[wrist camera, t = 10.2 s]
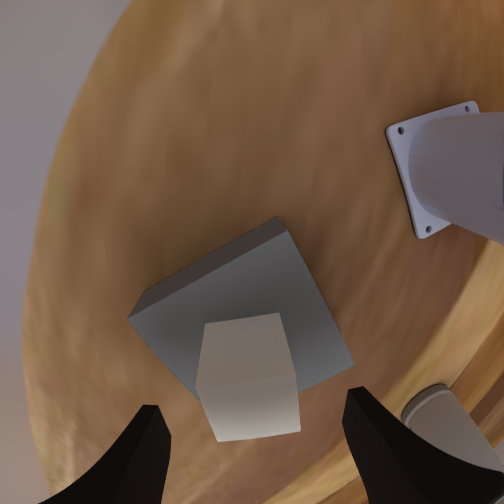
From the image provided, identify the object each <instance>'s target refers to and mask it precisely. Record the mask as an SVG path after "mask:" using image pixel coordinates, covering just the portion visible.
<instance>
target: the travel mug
mask: <svg viewBox="0 0 504 504" xmlns="http://www.w3.org/2000/svg"><path fill="white" fill-rule="evenodd" d="M401 420H402V422H403V424H404V425H405V426H407V427H408V428H409V429H410V430H412V431H413V432H414V433H416V434H417V435H418V436H420V437H421V438H423V439H424V440H426V441H427V442H429V443H430V444H432V445H433V446H435V447H437V448H438V449H440V450H442V451H444V452H446V453H448V454H450V455H452V456H454V457H457V458H459V459H461V460H463V461H466V462H468V463H471V464H474V465H477V466H480V467H484V468H488V469H492V470H497V471H501V472H503V473H504V465H503V463H502V461H501V460H500V458H499V457H498V455H497V454H496V453H495V451H494V450H493V448H492V447H491V445H490V444H489V442H488V441H487V439H486V438H485V437H484V435H483V434H482V432H481V431H480V429H479V428H478V427H477V425H476V424H475V423H474V421H473V420H472V418H471V417H470V416H469V414H468V413H467V412H466V410H465V409H464V408H463V406H462V405H461V404H460V402H459V401H458V400H457V398H456V397H455V396H454V395H453V393H452V392H451V391H450V389H449V388H448V387H447V386H446V385H442V384H440V385H435V386H432V387H430V388H428V389H426V390H424V391H422V392H421V393H420V394H418V395H417V396H416V397H415V398H414V399H413V400H412V401H411V402H410V403H409V404H408V405H407V407H406V408H405V410H404V411H403V414H402V419H401ZM495 504H504V496H503V497H502V498H501V499H500V500H498V501H497V502H496V503H495Z"/></svg>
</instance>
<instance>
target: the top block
mask: <svg viewBox="0 0 504 504" xmlns="http://www.w3.org/2000/svg"><path fill="white" fill-rule="evenodd" d="M195 388H196V391H197V393H198V396H199V398H200V401H201V403H202V406H203V408H204V411H205V413H206V416H207V418H208V420H209V423H210V425H211V427H212V430H213V432H214V434H215V437H216V439H217V441H218V442H221V441H233V440H244V439H252V438H260V437H268V436H275V435H281V434H287V433H293V432H298V431H301V429H300V416H299V404H298V392H297V381H296V373H295V369H294V365H293V361H292V358H291V354H290V350H289V346H288V343H287V339H286V335H285V332H284V328H283V324H282V321H281V317H280V313H279V312H278V313H272V314H266V315H260V316H254V317H247V318H241V319H234V320H227V321H220V322H213V323H205V328H204V334H203V340H202V346H201V353H200V359H199V365H198V372H197V379H196V386H195Z"/></svg>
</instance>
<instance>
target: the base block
mask: <svg viewBox="0 0 504 504" xmlns="http://www.w3.org/2000/svg"><path fill="white" fill-rule="evenodd" d="M278 312H279V313H280V317H281V321H282V324H283V328H284V332H285V335H286V339H287V343H288V346H289V350H290V354H291V358H292V361H293V365H294V369H295V373H296V381H297V392H298V393H299V392H301V391H303V390H305V389H308V388H310V387H312V386H314V385H316V384H318V383H320V382H322V381H324V380H326V379H328V378H330V377H332V376H334V375H336V374H338V373H340V372H342V371H344V370H346V369H348V368H350V367H352V366H353V365H355V363H354V360H353V358H352V356H351V354H350V352H349V350H348V348H347V346H346V344H345V342H344V339H343V337H342V335H341V333H340V331H339V329H338V327H337V325H336V323H335V321H334V319H333V317H332V315H331V313H330V311H329V309H328V307H327V305H326V303H325V301H324V299H323V297H322V295H321V293H320V291H319V289H318V287H317V285H316V283H315V281H314V279H313V277H312V275H311V273H310V271H309V270H308V268H307V266H306V264H305V262H304V260H303V258H302V256H301V254H300V252H299V250H298V249H297V247H296V245H295V243H294V241H293V239H292V237H291V235H290V234H289V232H288V230H287V228H286V227H285V226H284V224H283V223H282V221H281V220H280V219H279V217H278V216H276V217H274V218H272V219H271V220H269V221H267V222H265V223H263V224H262V225H260V226H258V227H256V228H254V229H253V230H251V231H249V232H247V233H245V234H244V235H242V236H240V237H238V238H237V239H235V240H233V241H231V242H229V243H228V244H226V245H224V246H222V247H221V248H219V249H217V250H215V251H214V252H212V253H210V254H208V255H206V256H205V257H203V258H201V259H199V260H198V261H196V262H194V263H192V264H191V265H189V266H187V267H186V268H184V269H182V270H180V271H179V272H177V273H175V274H173V275H172V276H170V277H168V278H166V279H165V280H163V281H161V282H160V283H158V284H156V285H154V286H153V287H151V288H149V289H148V290H146V291H144V292H143V294H142V295H141V297H140V298H139V300H138V302H137V303H136V305H135V306H134V308H133V310H132V311H131V313H130V315H129V316H128V318H127V320H128V321H129V323H130V324H131V325H132V326H133V328H134V329H135V330H136V331H137V333H138V334H139V335H140V336H141V337H142V339H143V340H144V341H145V342H146V343H147V345H148V346H149V347H150V348H151V349H152V351H153V352H154V353H155V354H156V355H157V356H158V357H159V359H160V360H161V361H162V362H163V363H164V364H165V365H166V367H167V368H168V369H169V370H170V371H171V372H172V373H173V374H174V375H175V376H176V377H177V378H178V380H179V381H180V382H181V383H182V384H183V385H184V386H185V387H186V388H187V389H188V390H189V391H190V392H191V393H192V394H193V395H194V396H195V397H196V398H197V399H198V400H199V401H200V398H199V396H198V393H197V391H196V388H195V386H196V379H197V372H198V365H199V359H200V353H201V346H202V340H203V334H204V328H205V323H213V322H220V321H227V320H234V319H241V318H247V317H254V316H260V315H266V314H272V313H278ZM200 402H201V401H200Z"/></svg>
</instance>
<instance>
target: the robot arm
mask: <svg viewBox="0 0 504 504" xmlns="http://www.w3.org/2000/svg"><path fill="white" fill-rule="evenodd" d="M465 108H466V110H465ZM398 128H400V129H401V134H399V133H398ZM386 135H387V138H388V141H389V143H390V146H391V149H392V152H393V155H394V158H395V161H396V164H397V167H398V170H399V173H400V177H401V180H402V183H403V187H404V190H405V194H406V197H407V201H408V205H409V209H410V213H411V217H412V221H413V225H414V229H415V234H416V236H417V237H418V238H420V239H425V238H426V237H428V236H430V235H432V234H434V233H436V232H437V231H439V230H441V229H443V228H445V227H446V226H448V225H450V224H452V223H453V224H455V225H458V226H460V227H463V228H465V229H467V230H470V231H472V232H475V233H477V234H479V235H482V236H484V237H486V238H489V239H491V240H493V241H495V242H497V243H500V244H502V245H504V112H486V113H480V112H479V109H478V106H477V104H476V102H475V101H468V102H464V103H461V104H457V105H454V106H450V107H447V108H444V109H440V110H437V111H434V112H430V113H427V114H424V115H421V116H418V117H415V118H411V119H408V120H405V121H402V122H399V123H396V124H393V125H391V126H389V127H387V129H386ZM427 227H428V231H426V228H427ZM342 424H343V428H344V432H345V436H346V440H347V443H348V446H349V448H350V451H351V453H352V456H353V459H354V461H355V463H356V466H357V468H358V471H359V473H360V476H361V478H362V481H363V483H364V486H365V489H366V492H367V496H368V500H369V504H495V503H496V502H497V501H498V500H500V499H501V498H502V497H503V496H504V473H503V472H501V471H497V470H492V469H488V468H484V467H480V466H477V465H474V464H471V463H468V462H466V461H463V460H461V459H459V458H457V457H454V456H452V455H450V454H448V453H446V452H444V451H442V450H440V449H438V448H437V447H435V446H433V445H432V444H430V443H429V442H427V441H426V440H424V439H423V438H421V437H420V436H418V435H417V434H416V433H414V432H413V431H412V430H410V429H409V428H408V427H407V426H405V425H404V424H403V423H402V422H401V421H399V420H398V419H397V418H396V417H395V416H394V415H393V414H391V413H390V412H389V411H388V410H387V409H386V408H385V407H384V406H383V405H382V404H381V403H380V402H379V401H378V400H377V399H376V398H375V397H374V396H373V395H372V394H371V393H370V392H369V391H368V390H367V389H366V388H365V387H363V386H362V387H357V388H353V389H348V393H347V399H346V404H345V409H344V414H343V419H342ZM170 450H171V434H170V432H169V429H168V427H167V425H166V423H165V420H164V418H163V416H162V413H161V411H160V409H159V406H158V405H143V406H142V407H141V408H140V409H139V411H138V412H137V414H136V415H135V416H134V418H133V419H132V420H131V422H130V423H129V424H128V426H127V427H126V428H125V430H124V431H123V432H122V434H121V435H120V436H119V437H118V439H117V440H116V441H115V442H114V444H113V445H112V446H111V447H110V448H109V449H108V451H107V452H106V453H105V454H104V455H103V456H102V457H101V458H100V459H99V460H98V461H97V462H96V463H95V464H94V465H93V466H92V467H91V468H90V469H89V470H88V471H87V472H86V473H85V474H84V475H82V476H81V477H80V478H79V479H77V480H76V481H75V482H74V483H72V484H71V485H70V486H68V487H67V488H65V489H64V490H62V491H61V492H59V493H57V494H56V495H54V496H52V497H51V498H49V499H47V500H45V501H43V502H41V503H39V504H161V500H162V495H163V490H164V485H165V480H166V475H167V470H168V465H169V460H170Z"/></svg>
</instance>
